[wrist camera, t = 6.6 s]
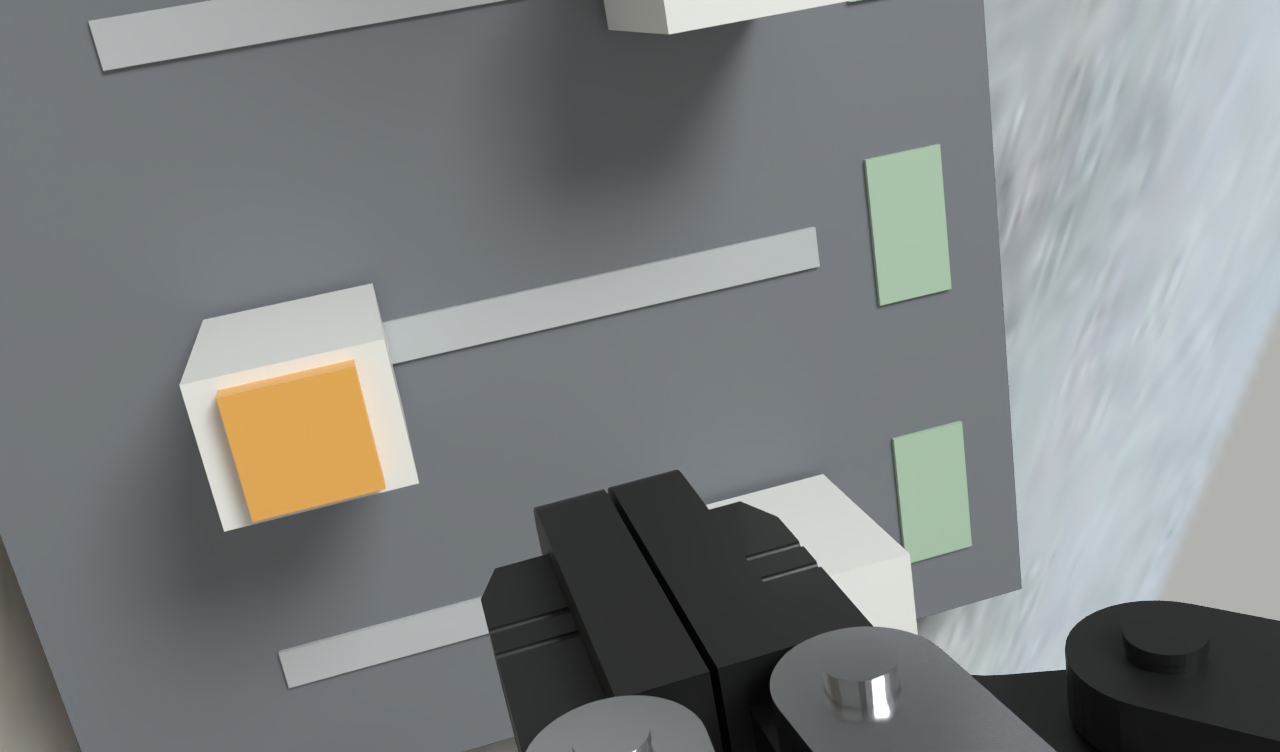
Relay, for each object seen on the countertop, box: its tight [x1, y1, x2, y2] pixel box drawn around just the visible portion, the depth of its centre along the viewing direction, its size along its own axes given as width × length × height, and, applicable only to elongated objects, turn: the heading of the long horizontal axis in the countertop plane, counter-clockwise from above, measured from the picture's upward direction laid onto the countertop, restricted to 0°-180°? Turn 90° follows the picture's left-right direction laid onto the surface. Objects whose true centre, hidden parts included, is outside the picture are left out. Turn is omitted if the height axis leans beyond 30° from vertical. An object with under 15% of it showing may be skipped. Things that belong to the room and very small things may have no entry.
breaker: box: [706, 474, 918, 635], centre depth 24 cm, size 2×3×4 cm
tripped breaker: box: [179, 283, 419, 532], centre depth 20 cm, size 2×3×4 cm
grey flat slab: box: [0, 0, 1022, 752], centre depth 24 cm, size 18×20×3 cm
